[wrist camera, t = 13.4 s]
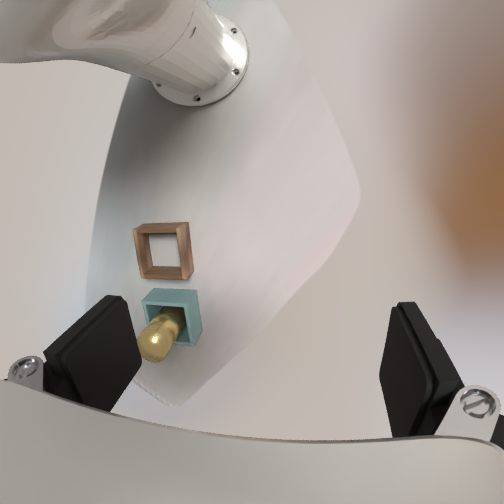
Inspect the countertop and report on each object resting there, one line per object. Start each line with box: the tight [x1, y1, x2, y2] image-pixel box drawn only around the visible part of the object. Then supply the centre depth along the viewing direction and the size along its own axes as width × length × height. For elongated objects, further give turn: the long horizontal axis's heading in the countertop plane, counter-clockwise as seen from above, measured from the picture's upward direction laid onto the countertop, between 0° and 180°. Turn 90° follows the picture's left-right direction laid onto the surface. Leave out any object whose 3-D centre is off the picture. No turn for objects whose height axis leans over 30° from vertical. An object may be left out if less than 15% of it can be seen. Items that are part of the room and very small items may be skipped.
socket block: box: [133, 222, 194, 280], centre depth 40 cm, size 7×7×3 cm
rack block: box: [142, 288, 202, 346], centre depth 42 cm, size 7×7×4 cm
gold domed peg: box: [136, 306, 186, 362], centre depth 40 cm, size 4×4×10 cm
